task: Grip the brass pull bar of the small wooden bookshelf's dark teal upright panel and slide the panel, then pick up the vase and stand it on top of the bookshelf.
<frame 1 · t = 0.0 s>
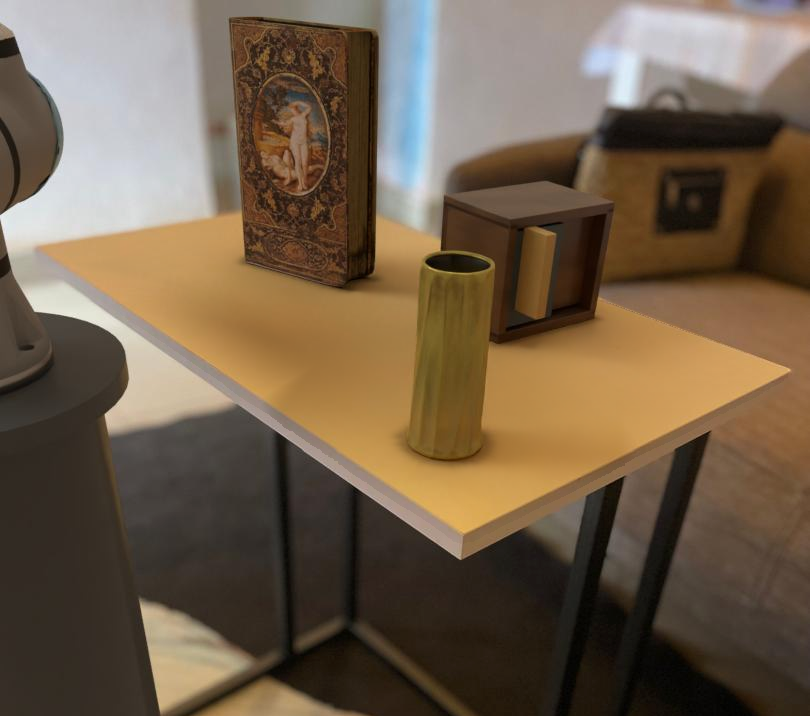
vase: (443, 443, 67), on the table
small wooden bookshelf: (515, 315, 90), on the table
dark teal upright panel: (542, 278, 81), point 6 cm above the table, slide at 0.0 cm, touching small wooden bookshelf
book: (305, 270, 100), on the table
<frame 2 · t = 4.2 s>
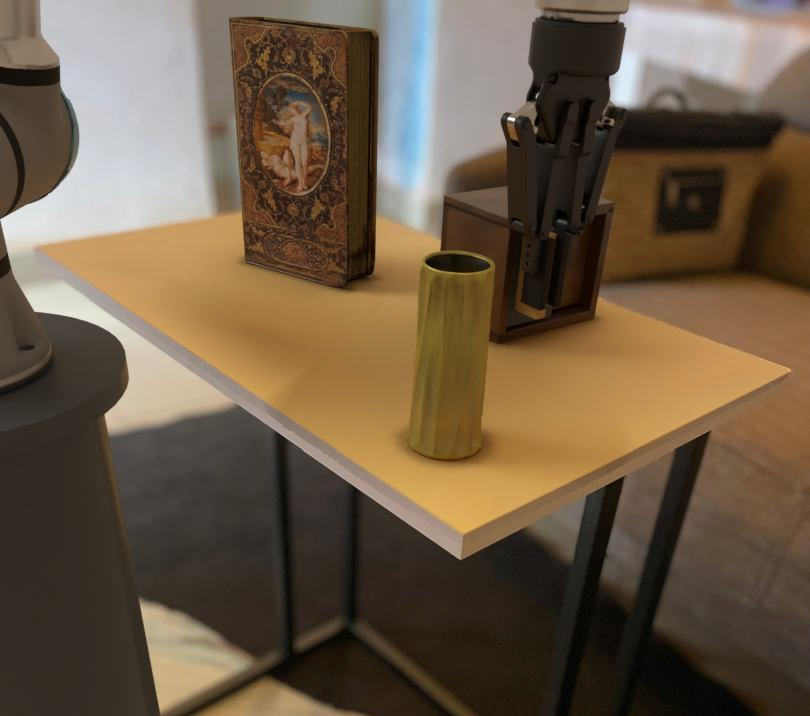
hand: (540, 303, 81), 4 cm above the table, tool pointing down, fingers closed on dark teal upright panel
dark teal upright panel: (542, 278, 81), point 6 cm above the table, slide at 0.0 cm, touching gripper, small wooden bookshelf
everything else where it was.
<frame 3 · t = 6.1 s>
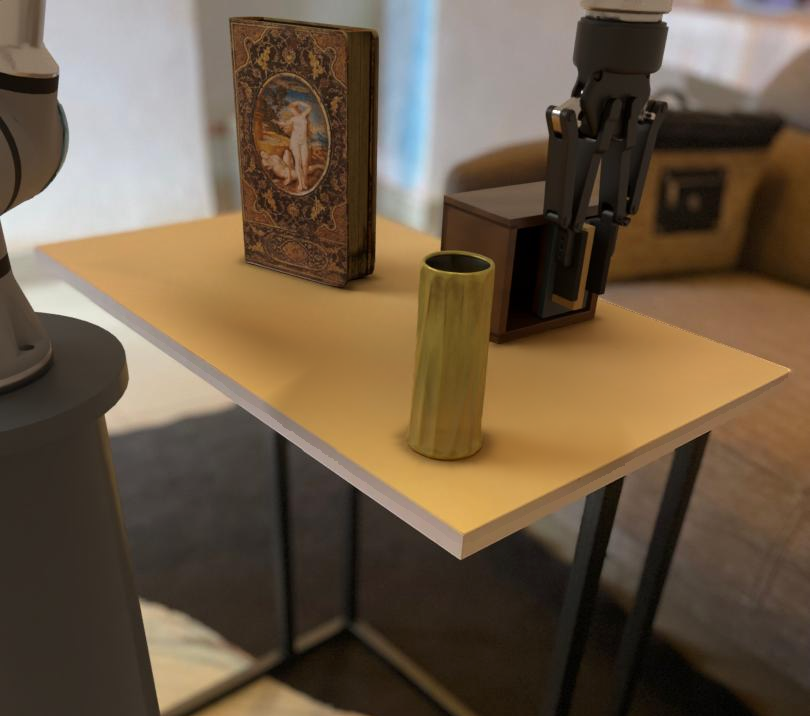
hand: (578, 293, 83), 5 cm above the table, tool pointing down, fingers open, 3 cm apart
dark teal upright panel: (579, 270, 84), point 6 cm above the table, slide at 5.1 cm, touching small wooden bookshelf
everything else where it was.
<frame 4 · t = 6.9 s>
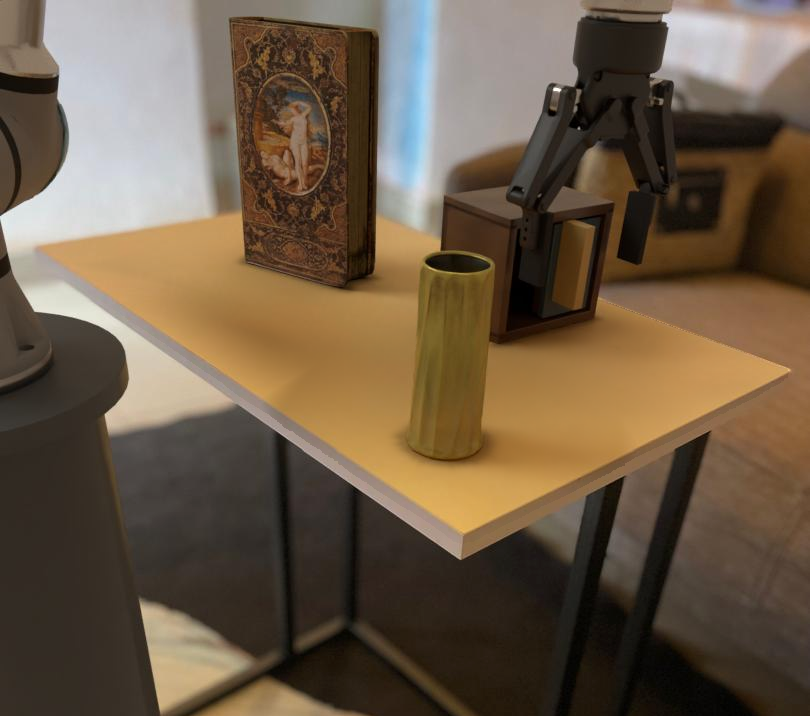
hand: (582, 271, 82), 7 cm above the table, tool pointing down, fingers open, 13 cm apart
nothing on the table moved.
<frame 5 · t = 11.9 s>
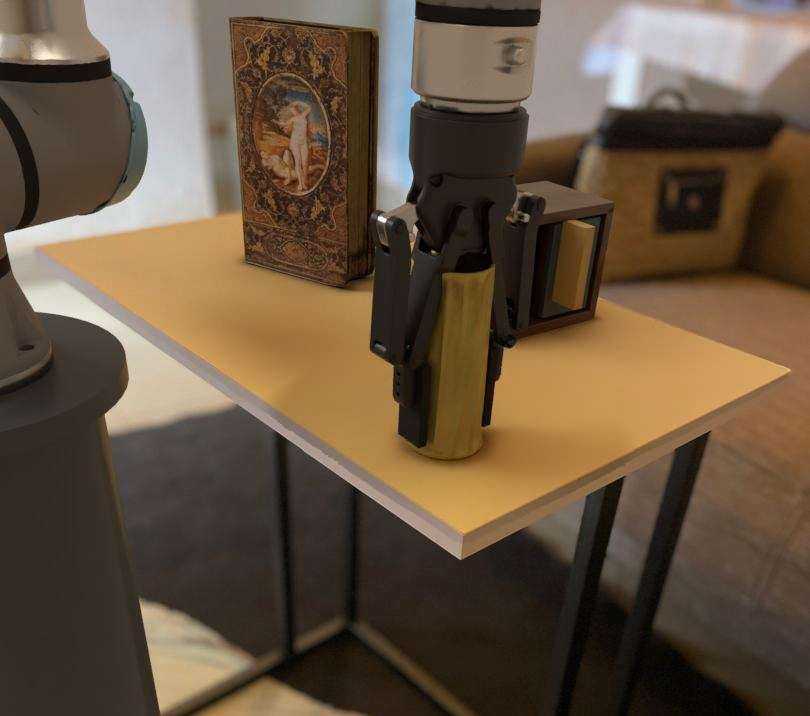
hand: (444, 428, 66), 1 cm above the table, tool pointing down, fingers closed on vase, 6 cm apart
vase: (443, 443, 67), on the table, touching gripper
everything else where it was.
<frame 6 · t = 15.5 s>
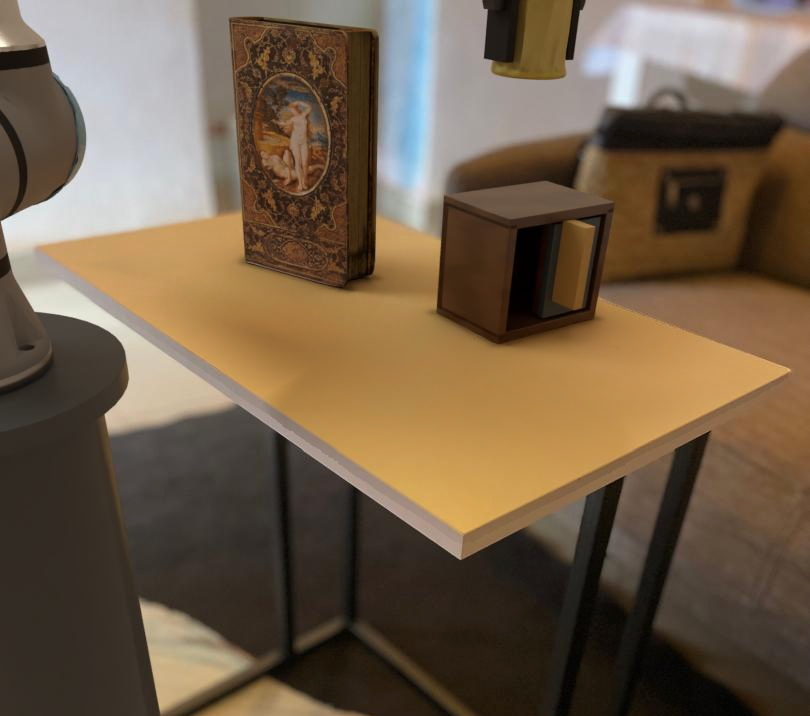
hand: (529, 58, 67), 25 cm above the table, tool pointing down, fingers closed on vase, 6 cm apart
vase: (527, 77, 68), point 24 cm above the table, touching gripper
everything else where it was.
when the fingers open (13 cm above the table, at t = 19.3 s): vase stays where it is, resting on small wooden bookshelf.
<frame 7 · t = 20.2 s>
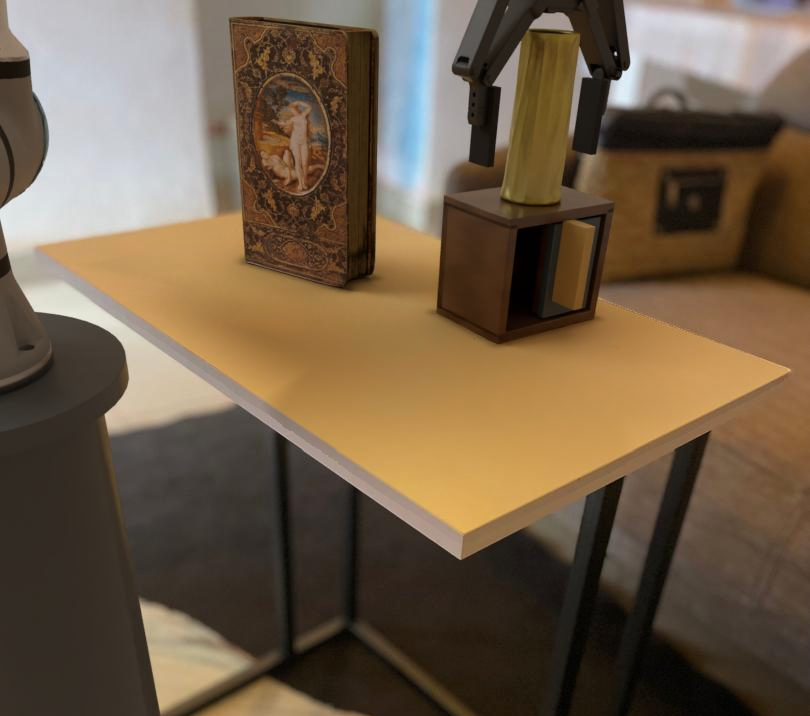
hand: (534, 158, 81), 16 cm above the table, tool pointing down, fingers open, 13 cm apart
vase: (530, 200, 83), point 12 cm above the table, touching small wooden bookshelf
everything else where it was.
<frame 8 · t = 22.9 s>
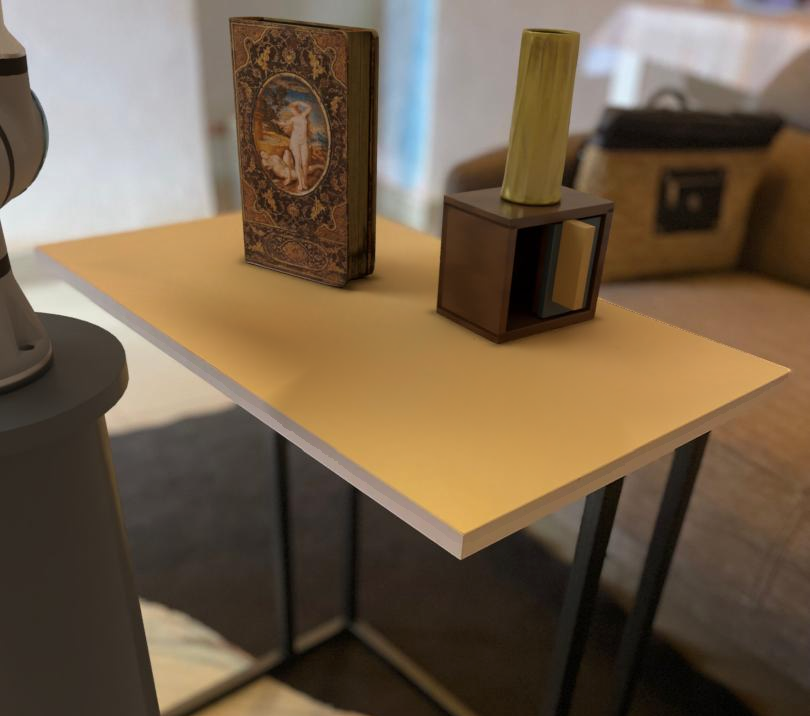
nothing on the table moved.
at the end: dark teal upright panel slide at 5.1 cm; vase inside the target area on the small wooden bookshelf (0.1 cm from its centre), point 11.8 cm above the small wooden bookshelf's base; vase tilted 0° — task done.
